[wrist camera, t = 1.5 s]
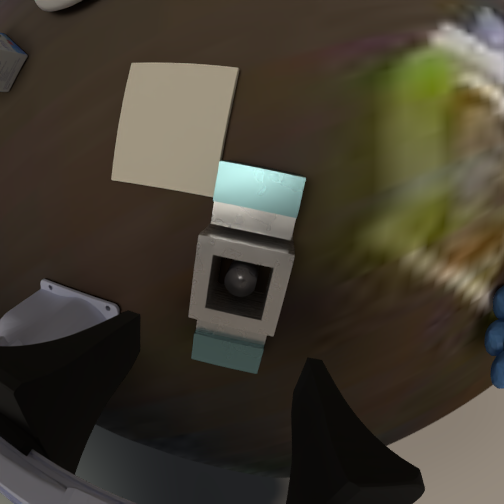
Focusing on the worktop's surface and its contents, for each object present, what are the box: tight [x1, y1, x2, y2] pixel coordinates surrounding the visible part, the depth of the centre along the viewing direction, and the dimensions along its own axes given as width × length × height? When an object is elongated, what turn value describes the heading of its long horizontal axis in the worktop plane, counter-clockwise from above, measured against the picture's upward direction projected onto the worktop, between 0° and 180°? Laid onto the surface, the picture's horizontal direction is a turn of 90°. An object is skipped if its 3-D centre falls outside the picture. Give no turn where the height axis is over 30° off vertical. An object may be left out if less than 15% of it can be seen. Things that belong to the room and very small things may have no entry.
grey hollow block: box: [189, 224, 295, 336], centre depth 20 cm, size 6×6×4 cm
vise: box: [191, 160, 306, 374], centre depth 20 cm, size 5×14×3 cm, turn 169°
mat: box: [111, 63, 240, 197], centre depth 19 cm, size 8×9×1 cm
